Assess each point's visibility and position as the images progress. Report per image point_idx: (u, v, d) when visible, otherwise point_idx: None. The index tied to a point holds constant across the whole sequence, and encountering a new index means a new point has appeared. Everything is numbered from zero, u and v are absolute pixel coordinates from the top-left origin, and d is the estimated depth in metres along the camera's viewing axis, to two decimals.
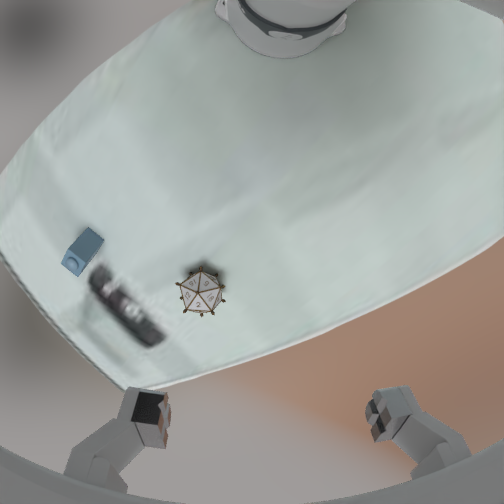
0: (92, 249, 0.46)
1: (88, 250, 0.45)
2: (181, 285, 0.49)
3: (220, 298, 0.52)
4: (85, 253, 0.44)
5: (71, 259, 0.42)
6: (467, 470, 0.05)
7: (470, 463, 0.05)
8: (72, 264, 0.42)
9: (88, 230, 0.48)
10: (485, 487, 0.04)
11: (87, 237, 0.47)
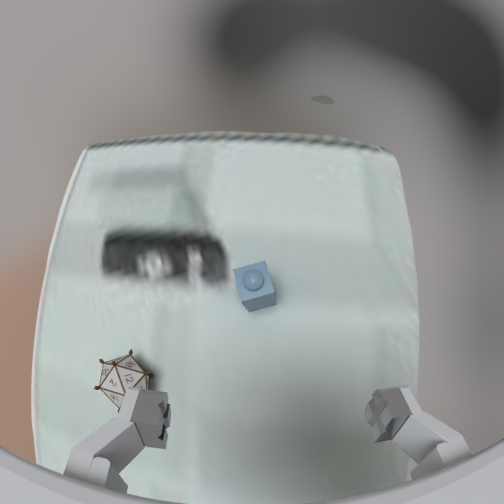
0: (249, 305, 0.38)
1: (252, 303, 0.37)
2: (143, 375, 0.35)
3: None
4: (252, 301, 0.36)
5: (259, 287, 0.34)
6: (467, 470, 0.05)
7: (470, 463, 0.05)
8: (252, 283, 0.34)
9: (273, 304, 0.41)
10: (485, 487, 0.04)
11: (267, 303, 0.39)
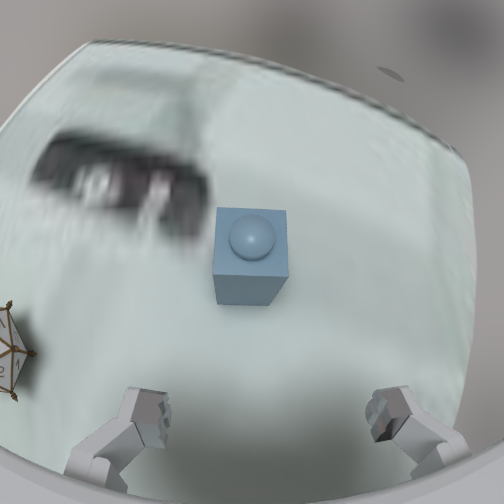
0: (224, 292, 0.19)
1: (231, 288, 0.18)
2: (9, 351, 0.15)
3: None
4: (233, 284, 0.17)
5: (260, 255, 0.16)
6: (467, 470, 0.05)
7: (470, 463, 0.05)
8: (249, 243, 0.15)
9: (263, 303, 0.23)
10: (485, 488, 0.04)
11: (256, 298, 0.21)
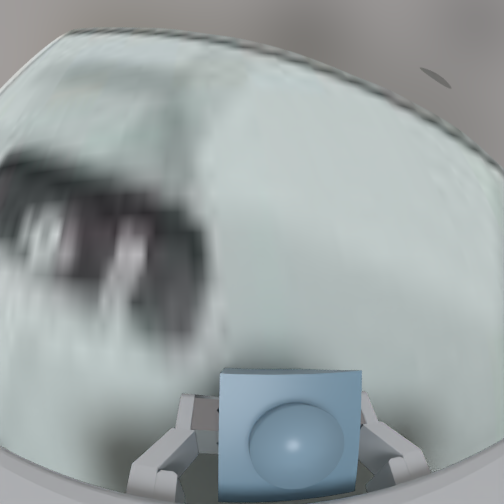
0: None
1: None
2: None
3: None
4: None
5: None
6: (467, 470, 0.05)
7: (470, 463, 0.05)
8: (292, 466, 0.06)
9: None
10: (485, 487, 0.04)
11: None
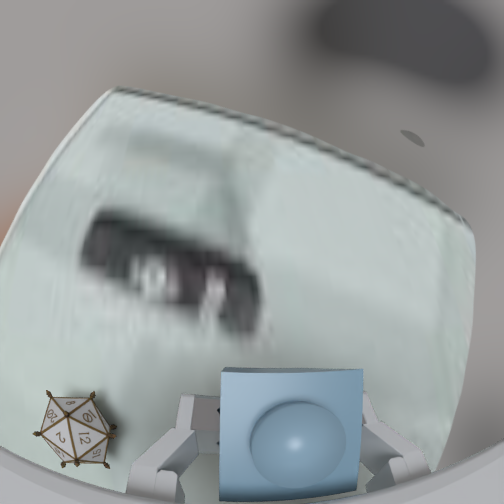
0: None
1: None
2: (105, 438, 0.20)
3: None
4: None
5: None
6: (467, 470, 0.05)
7: (470, 463, 0.05)
8: (294, 465, 0.06)
9: None
10: (485, 488, 0.04)
11: None
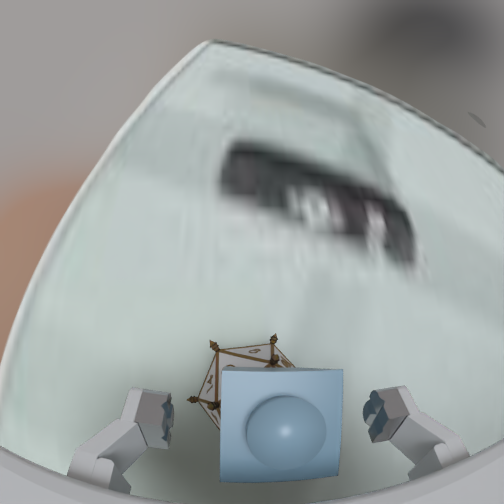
0: None
1: None
2: None
3: (207, 411, 0.19)
4: None
5: (299, 463, 0.07)
6: (467, 470, 0.05)
7: (470, 463, 0.05)
8: (282, 449, 0.07)
9: None
10: (485, 487, 0.04)
11: None
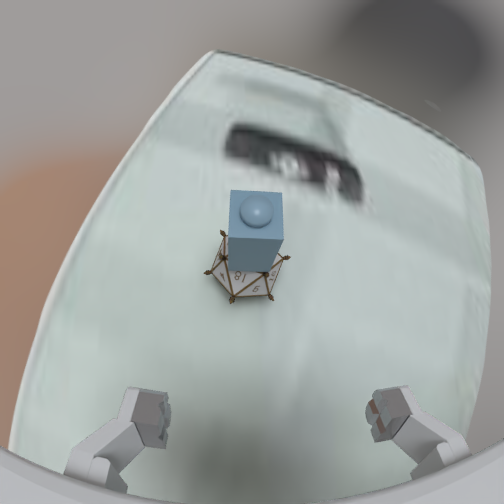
0: (235, 256, 0.25)
1: (241, 252, 0.24)
2: (281, 260, 0.33)
3: (217, 276, 0.33)
4: (242, 247, 0.23)
5: (263, 223, 0.21)
6: (467, 470, 0.05)
7: (470, 463, 0.05)
8: (255, 214, 0.21)
9: (265, 269, 0.28)
10: (485, 487, 0.04)
11: (259, 262, 0.27)
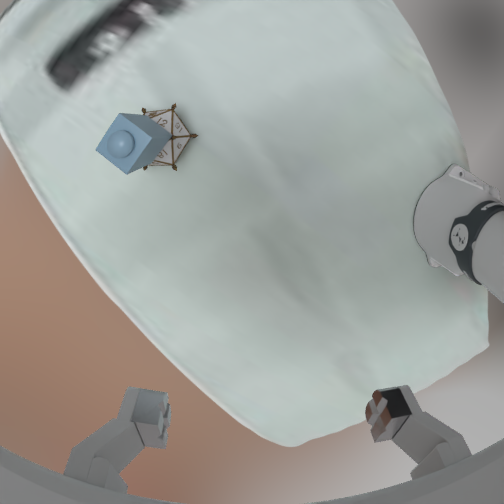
0: (143, 163, 0.27)
1: (143, 161, 0.26)
2: (172, 111, 0.32)
3: (151, 164, 0.35)
4: (139, 162, 0.25)
5: (131, 146, 0.23)
6: (467, 470, 0.05)
7: (470, 463, 0.05)
8: (122, 148, 0.22)
9: (168, 138, 0.30)
10: (485, 487, 0.04)
11: (160, 145, 0.28)
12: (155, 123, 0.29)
